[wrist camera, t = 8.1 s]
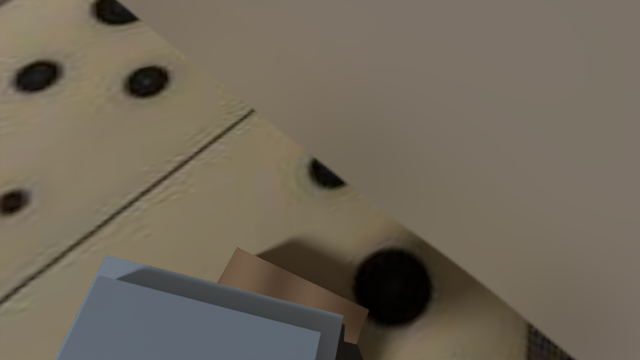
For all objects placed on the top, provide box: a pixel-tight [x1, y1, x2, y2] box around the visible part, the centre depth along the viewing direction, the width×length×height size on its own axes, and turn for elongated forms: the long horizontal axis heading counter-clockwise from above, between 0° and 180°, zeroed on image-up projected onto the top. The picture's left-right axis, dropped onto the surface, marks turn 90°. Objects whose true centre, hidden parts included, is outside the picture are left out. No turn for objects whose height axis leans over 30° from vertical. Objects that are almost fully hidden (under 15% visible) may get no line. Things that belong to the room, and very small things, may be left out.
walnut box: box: [218, 247, 369, 344], centre depth 24 cm, size 10×10×5 cm
